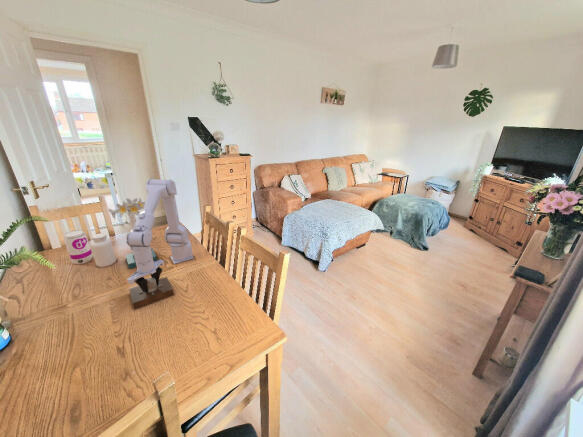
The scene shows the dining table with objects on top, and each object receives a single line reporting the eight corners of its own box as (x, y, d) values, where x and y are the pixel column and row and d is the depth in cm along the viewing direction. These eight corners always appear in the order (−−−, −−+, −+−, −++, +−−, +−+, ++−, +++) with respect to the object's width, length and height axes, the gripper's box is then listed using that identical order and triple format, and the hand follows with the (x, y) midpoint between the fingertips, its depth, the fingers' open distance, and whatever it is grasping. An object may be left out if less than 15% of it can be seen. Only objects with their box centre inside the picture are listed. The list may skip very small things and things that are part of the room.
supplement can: (96, 259, 119) (88, 232, 114) (76, 266, 113) (65, 238, 107) (89, 254, 123) (80, 228, 118) (69, 261, 117) (59, 234, 111)
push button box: (153, 252, 127) (151, 245, 126) (157, 261, 120) (155, 253, 118) (126, 259, 120) (124, 251, 119) (129, 269, 113) (127, 260, 111)
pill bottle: (120, 259, 120) (113, 232, 115) (107, 268, 113) (99, 240, 107) (105, 257, 121) (97, 231, 115) (92, 266, 114) (82, 238, 108)
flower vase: (113, 243, 134) (101, 201, 124) (147, 232, 148) (138, 194, 139) (124, 251, 127) (113, 207, 118) (158, 238, 142) (150, 198, 132)
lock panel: (167, 282, 105) (166, 276, 104) (174, 294, 98) (172, 288, 97) (130, 295, 97) (128, 288, 96) (134, 309, 90) (132, 303, 89)
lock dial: (151, 284, 99) (149, 275, 97) (159, 287, 98) (157, 278, 96) (142, 290, 95) (140, 282, 94) (150, 293, 94) (148, 284, 92)
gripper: (134, 272, 83) (141, 302, 89) (167, 252, 96) (172, 280, 101) (120, 267, 86) (128, 297, 91) (154, 249, 98) (160, 276, 103)
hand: (150, 288), depth 96 cm, fingers closed on lock dial, 4 cm apart
